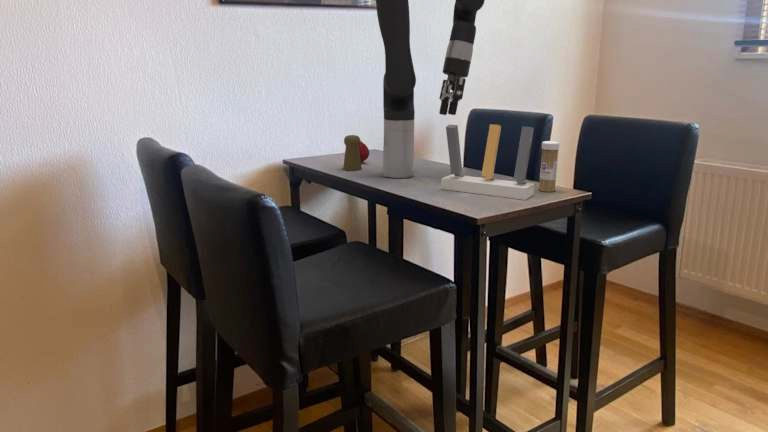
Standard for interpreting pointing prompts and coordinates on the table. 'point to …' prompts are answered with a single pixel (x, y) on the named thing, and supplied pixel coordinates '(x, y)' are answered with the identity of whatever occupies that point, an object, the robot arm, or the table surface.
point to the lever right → (523, 154)
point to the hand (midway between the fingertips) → (447, 114)
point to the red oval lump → (363, 151)
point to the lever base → (488, 186)
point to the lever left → (454, 149)
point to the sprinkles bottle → (548, 166)
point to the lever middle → (491, 151)
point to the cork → (352, 153)
